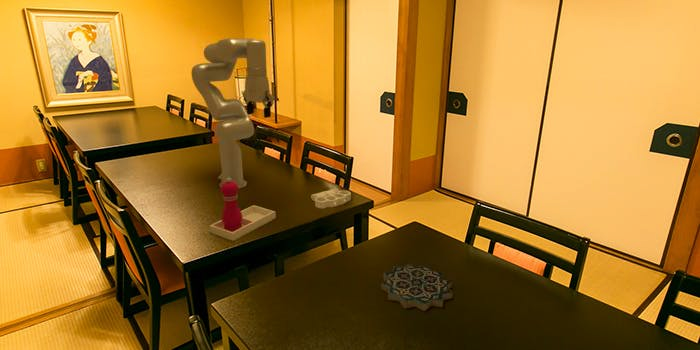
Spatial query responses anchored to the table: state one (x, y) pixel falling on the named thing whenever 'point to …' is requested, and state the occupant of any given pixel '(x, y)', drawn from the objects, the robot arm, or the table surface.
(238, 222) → the pepper mill
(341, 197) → the knuckle duster
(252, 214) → the cell tray
